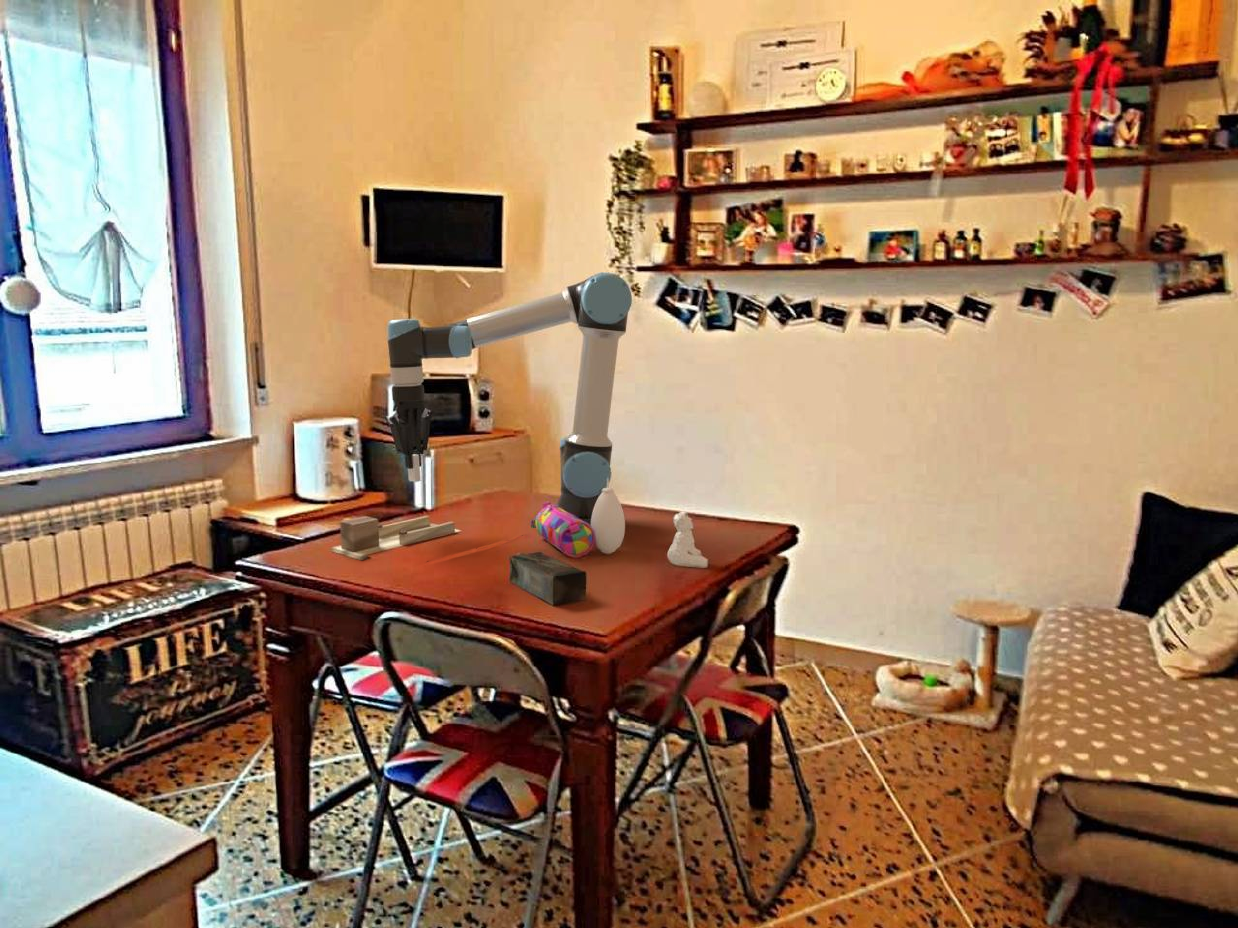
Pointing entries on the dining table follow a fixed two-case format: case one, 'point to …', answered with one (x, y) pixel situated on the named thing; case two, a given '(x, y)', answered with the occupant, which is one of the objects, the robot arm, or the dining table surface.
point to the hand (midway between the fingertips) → (414, 480)
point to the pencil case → (564, 530)
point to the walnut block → (359, 534)
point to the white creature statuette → (685, 544)
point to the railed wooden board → (402, 535)
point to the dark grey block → (548, 578)
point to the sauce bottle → (608, 521)
